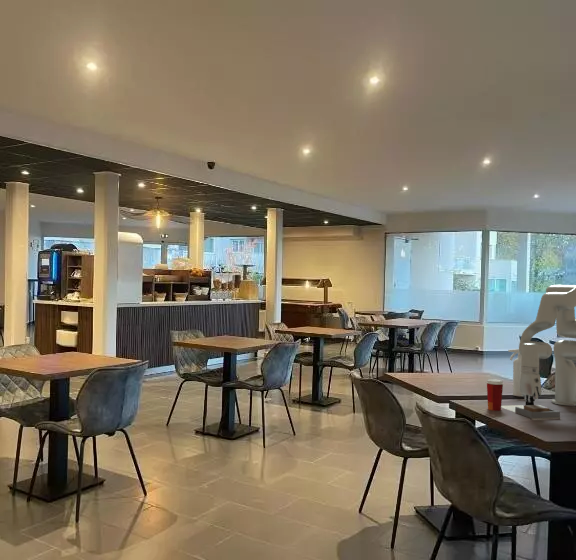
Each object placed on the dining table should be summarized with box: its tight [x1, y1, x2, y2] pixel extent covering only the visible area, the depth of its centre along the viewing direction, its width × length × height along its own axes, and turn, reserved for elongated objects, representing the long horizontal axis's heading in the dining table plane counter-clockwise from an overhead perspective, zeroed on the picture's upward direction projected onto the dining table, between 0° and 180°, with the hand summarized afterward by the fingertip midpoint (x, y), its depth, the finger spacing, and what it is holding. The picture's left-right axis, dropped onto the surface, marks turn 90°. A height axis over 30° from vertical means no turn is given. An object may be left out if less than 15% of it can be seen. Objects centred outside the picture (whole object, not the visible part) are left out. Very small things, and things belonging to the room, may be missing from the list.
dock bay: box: [501, 404, 561, 420], centre depth 269 cm, size 14×27×3 cm, turn 12°
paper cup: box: [485, 378, 504, 412], centre depth 272 cm, size 8×8×14 cm
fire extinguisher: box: [508, 348, 523, 397], centre depth 314 cm, size 7×12×25 cm, turn 79°
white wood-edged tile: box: [524, 404, 549, 412], centre depth 261 cm, size 8×7×4 cm
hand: (529, 410), depth 267 cm, fingers closed
